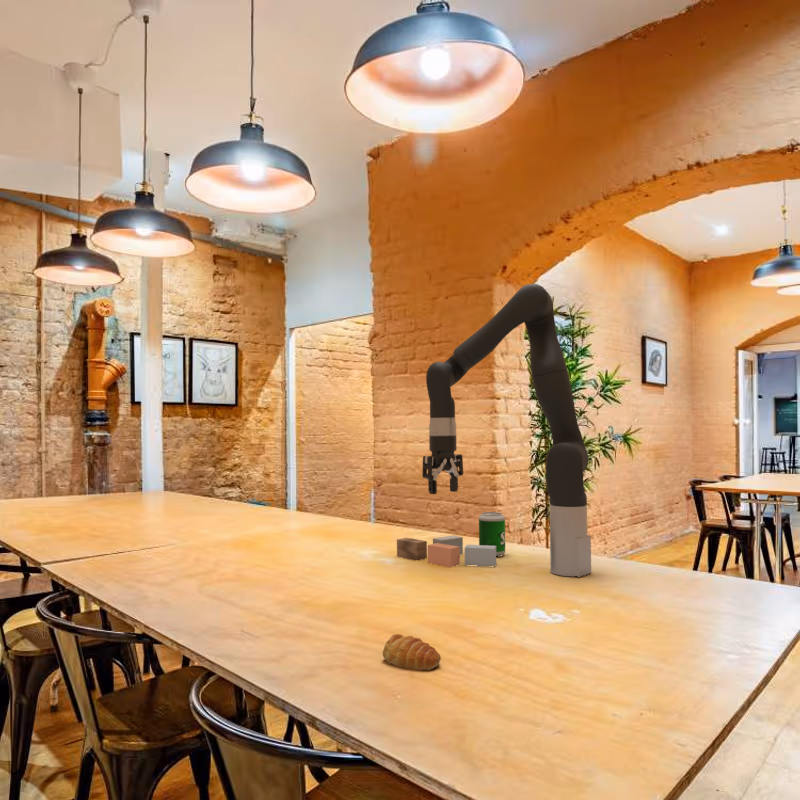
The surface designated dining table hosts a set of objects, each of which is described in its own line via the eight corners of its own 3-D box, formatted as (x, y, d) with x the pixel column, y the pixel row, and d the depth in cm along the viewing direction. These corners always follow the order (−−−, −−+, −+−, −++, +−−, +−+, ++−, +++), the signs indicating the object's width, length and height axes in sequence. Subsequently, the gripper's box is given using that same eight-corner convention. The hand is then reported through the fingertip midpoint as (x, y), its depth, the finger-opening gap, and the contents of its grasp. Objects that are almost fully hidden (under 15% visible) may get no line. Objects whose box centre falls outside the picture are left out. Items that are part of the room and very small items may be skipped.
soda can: (497, 559, 177) (497, 516, 178) (474, 555, 182) (473, 514, 182) (510, 554, 183) (509, 513, 184) (487, 551, 188) (486, 511, 188)
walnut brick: (426, 558, 179) (426, 541, 179) (417, 561, 176) (417, 543, 176) (406, 554, 184) (406, 537, 185) (396, 557, 182) (396, 539, 182)
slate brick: (453, 552, 188) (453, 535, 188) (462, 554, 185) (462, 537, 185) (432, 555, 183) (432, 538, 183) (441, 558, 180) (441, 540, 180)
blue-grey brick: (496, 564, 171) (496, 545, 171) (494, 567, 167) (494, 548, 168) (467, 562, 173) (467, 544, 174) (464, 566, 170) (464, 547, 170)
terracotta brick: (459, 565, 171) (459, 546, 171) (450, 567, 168) (450, 548, 168) (437, 561, 176) (436, 543, 176) (427, 563, 173) (427, 545, 173)
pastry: (449, 663, 101) (449, 639, 101) (425, 677, 96) (425, 652, 96) (402, 651, 107) (402, 628, 107) (377, 663, 102) (377, 639, 102)
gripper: (435, 434, 168) (436, 496, 167) (469, 433, 178) (470, 491, 177) (415, 434, 173) (415, 494, 173) (449, 433, 183) (450, 489, 182)
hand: (443, 492), depth 175 cm, fingers open, 8 cm apart
